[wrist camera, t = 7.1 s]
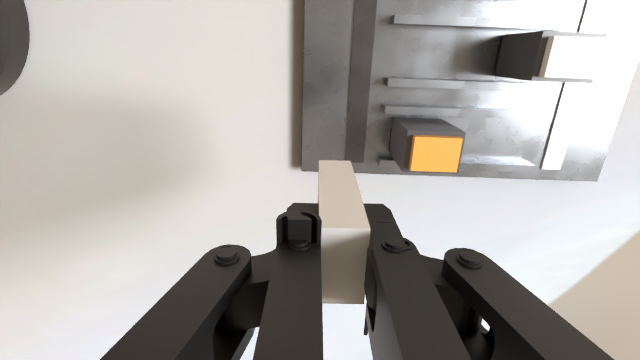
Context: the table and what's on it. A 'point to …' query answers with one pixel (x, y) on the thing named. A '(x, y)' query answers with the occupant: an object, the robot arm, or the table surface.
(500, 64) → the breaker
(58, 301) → the table surface
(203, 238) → the table surface
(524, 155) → the panel
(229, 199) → the table surface
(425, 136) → the block
